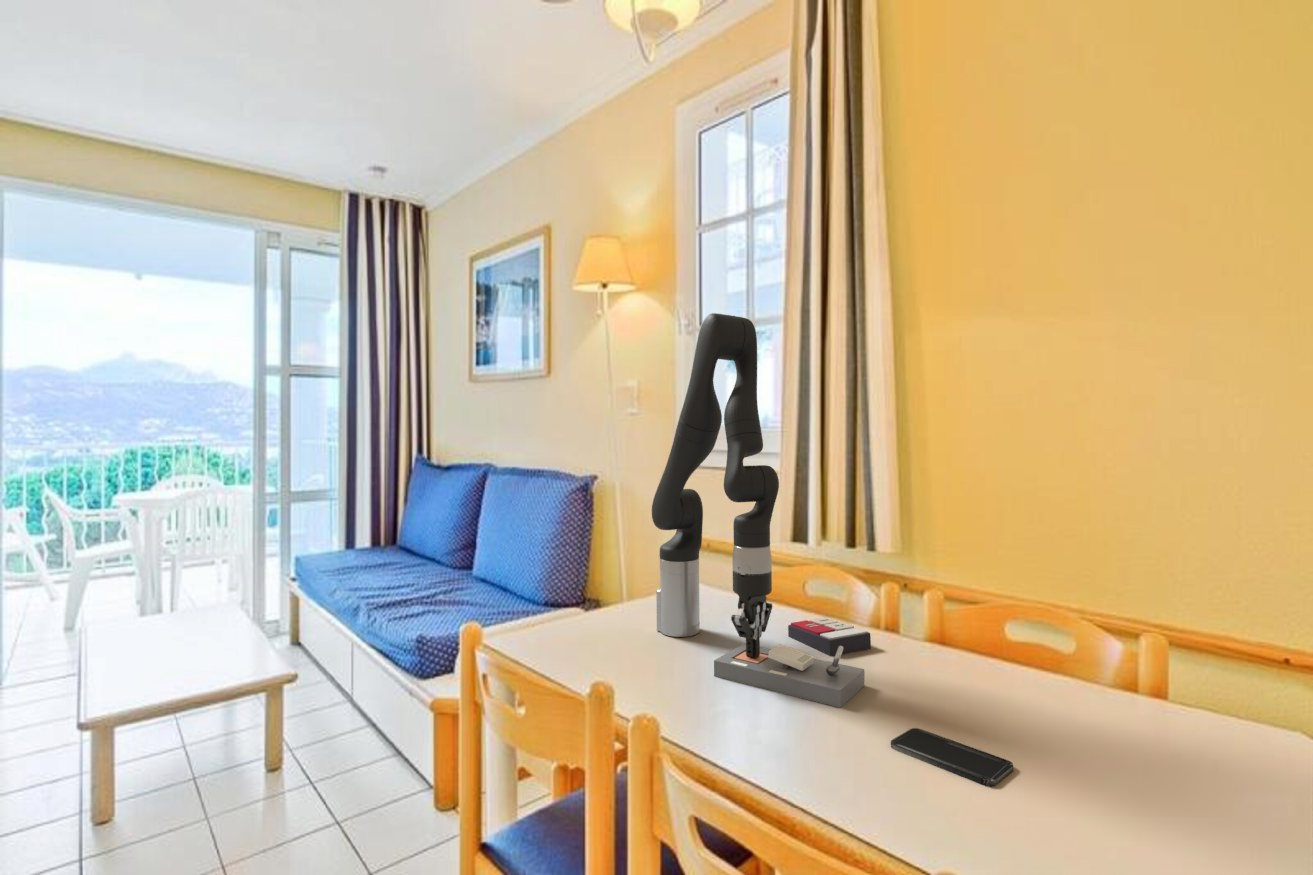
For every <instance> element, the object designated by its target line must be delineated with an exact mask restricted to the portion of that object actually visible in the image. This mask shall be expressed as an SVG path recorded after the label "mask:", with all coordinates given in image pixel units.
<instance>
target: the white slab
mask: <svg viewBox="0 0 1313 875" xmlns="http://www.w3.org/2000/svg"><path fill="white" fill-rule="evenodd" d="M771 649H772V650H770V651H769V653H768V658H771V659H773V660H776V661H778V662H781V663H784V664H786V665H789V666H791V667H794V668H796V669H799V670H801V671H803V670H804V669H806V668H807V667H809V666H810V665H811V664H813V663H814V658H815V656H813V655H810V654H808V653H806V652H803V651H800V650H797V649H795V648H792V647H789V646H787V645H785V644H782V643H780V644H778V645H777V646H776V647H773V648H771Z"/></svg>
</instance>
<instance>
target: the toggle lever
mask: <svg viewBox="0 0 1313 875" xmlns="http://www.w3.org/2000/svg"><path fill="white" fill-rule="evenodd" d="M842 652H843V646H839V647H838V650H837V652H836V655H835V656H834V659H833V661H832V662H833V663H832V664H831V665H830V666H829V667H827V669H826V672H827V674H828V675H830V676H833V675H834V674H835V673H837V672H838V671H839V670H840V666H839V665H838V664H839V662H840V659H841V657H842V655H841V654H842Z"/></svg>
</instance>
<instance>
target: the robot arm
mask: <svg viewBox="0 0 1313 875" xmlns="http://www.w3.org/2000/svg"><path fill="white" fill-rule="evenodd" d="M756 331H757V330H756V327H755V325H754V323H753V322H752V320H750V319H749V318H747V317H743V316H736V315H730V314H723V313H715V312H714V313H713V312H712V313H710V314H708V315H707V316H706V317H705V318H704V320H702V323H701V326H700V329H699V331H698V337H697V341H696V345H695V350H694V351H695V352H694V356H693V362H692V368H691V372H690V378H689V382H688V386H687V391H686V394H685V398H684V401H683V404H682V408H681V411H680V414H679V417H678V421H677V424H676V429H675V433H674V436H673V442H672V445H671V449H670V452H669V455H668V458H667V461H666V464H665V467H664V470H663V472H662V475H661V478H660V481H659V483H658V486H657V487H656V491H655V494H654V496H653V500H652V504H651V519H652V522H653V525H654V526H655V527H656V528H657V529H658V530H661V531H662V530H663V531H676V532H675V533H674V535H673V536H672V537H671V538H670V539H669V540H667V541H666V542H664V543H663V544H662V545H661V546H660V548H659V589H657V590H656V597H655V598H656V631H657V632H660V633H661V634H662V635H664V636H669V637H674V638H675V637H677V638H679V637H680V638H685V637H691V636H695V635H697V634H699V633H700V624H701V622H700V551H701V548H702V542H703V522H704V521H703V520H704V506H703V502H702V499H701V496H700V494H699V493H698V492H697V491H696V490H695V489H693V488H685V486H686V484H687V482H688V480H689V478H690V477H691V476H692V474H694V472H695V471H696V470H697V469H698V467H700V466H701V464H703V462H704V461H705V460H706V459H707V458H708V456H710V454H711V453H712V451H713V449H714V448H715V446H716V442H717V440H718V436H719V433H720V430H721V426H722V423H724V424H723V425H724V431H725V438H726V445H727V447H726V448H727V449H726V450H727V452H726V464H725V473H724V478H723V490H724V494H725V495H726V497H727V498H728V499H729V500H730V501H731V502H733V503H750V502H751V503H753V502H755V504H754V506H753V508H752V509H751V510H749V511H748V512H745V513H741V514H738V515H736V516H735V517H734V520H733V526H732V527H733V549H732V591H733V593H735V594H736V595H737V596H738V602H737V612H736V614H731V617H730V620H731V622H732V624H733V626H734V628H735V630H736V633H737V634H738V637H739V638H744V639H745V644H746V656H747V657H749V658H754V659H755V658H757V657H759V656H760V647H761V646H760V640H761V639H760V638H761V637H762V634H763V633H765V632H766V630H767V626H768V624H769V620H770V617H771V613H772V609H773V603H769V602H767V596H769V595H771V593H772V590H773V586H772V585H773V581H772V580H773V578H772V575H773V574H772V573H773V572H772V569H773V568H772V566H773V565H772V563H773V562H772V560H773V559H772V550H771V521H772V517H773V512H774V508H775V505H776V504H775V503H776V501H777V498H778V497H777V496H778V494H779V488H780V479H779V476H778V473H777V472H776V470H775V469H774V468H773V467H772V466H771V465H767V464H765V465H763V464H762V465H757V464H756V465H744V460H745V458H749V457H753V456H755V455H757V454H760V453H761V452H762V451H763V449H764V440H763V434H762V428H761V421H760V415H759V408H758V338H757V336H758V335H757V332H756ZM718 360H723V361H730V362H731V361H732V362H733V363H734V366H735V371H736V378H735V382H734V386H733V389H732V391H731V393H730V396H729V398H728V400H727V402H726V405H725V408H724V414H723V415H724V416H723V415H722V410H721V406H720V403H719V400H718V397H717V394H716V390H715V385H714V384H715V383H714V377H715V370H716V366H717V362H718ZM722 416H723V417H722Z"/></svg>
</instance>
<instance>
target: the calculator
mask: <svg viewBox="0 0 1313 875" xmlns="http://www.w3.org/2000/svg"><path fill="white" fill-rule="evenodd" d="M787 630H788V632H787V633H788V634H787V635H788V637H789V638H790V639H792V640H795V641H797V642H799V643H801V644H804V645H805V646H807V647H810V648H813V649H816V650H817V651H818V652H820V653H822V654H825V655H826V656H829V657H835V655H836V652H837V650H838V647H839V646H843V652H842V654H841V656H843V655H849V654H852V653H853V654H854V653H857V652H858V653H859V652H863V651H868V650H871V649H872V644H871V643H872V640H871V633H870V632H868V631H867V630H865V629H861V628H858V627H855V626H854V625H852V624H848V623H845V622H841V621H838V620H835V619H832V618H829V617H819V618H813V619H812V618H811V619H809V620H801V621H794V622H790V624H788V625H787Z"/></svg>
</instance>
